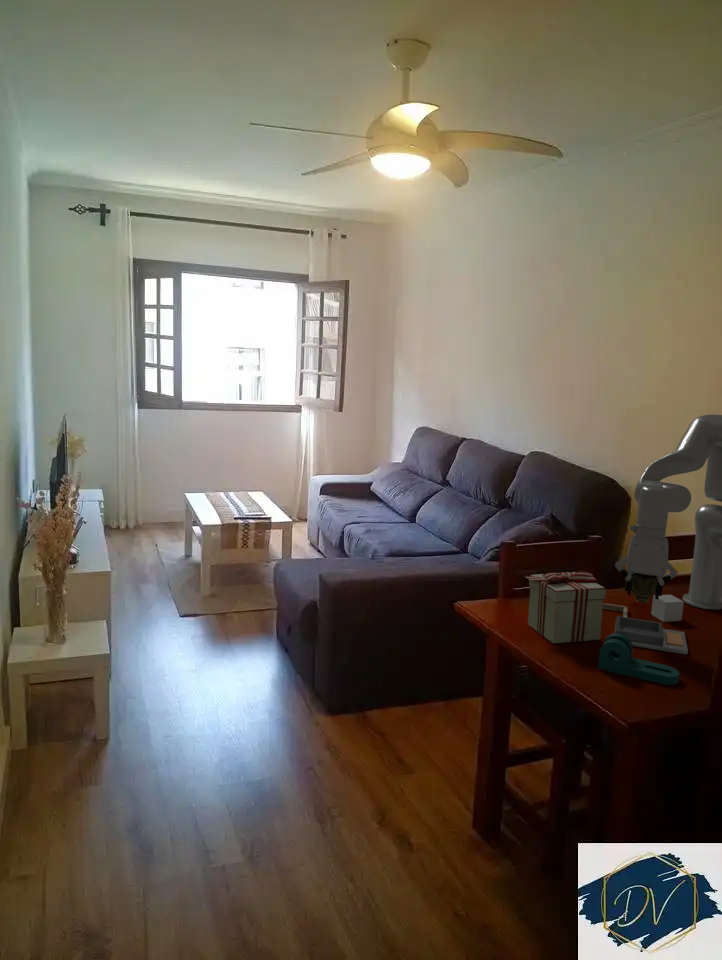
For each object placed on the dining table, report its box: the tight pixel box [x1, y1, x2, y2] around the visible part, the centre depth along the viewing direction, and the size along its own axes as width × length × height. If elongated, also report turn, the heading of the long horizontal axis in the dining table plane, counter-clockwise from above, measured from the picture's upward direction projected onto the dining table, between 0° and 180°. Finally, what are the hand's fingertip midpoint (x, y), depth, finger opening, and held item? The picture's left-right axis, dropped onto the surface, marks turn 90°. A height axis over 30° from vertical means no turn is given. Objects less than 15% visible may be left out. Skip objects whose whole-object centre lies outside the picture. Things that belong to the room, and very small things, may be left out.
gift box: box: [524, 570, 607, 645], centre depth 198 cm, size 17×18×17 cm
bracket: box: [597, 632, 680, 686], centre depth 175 cm, size 18×7×8 cm, turn 61°
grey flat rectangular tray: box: [614, 615, 689, 655], centre depth 196 cm, size 14×18×3 cm
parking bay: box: [602, 602, 628, 618], centre depth 213 cm, size 12×12×2 cm
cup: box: [631, 573, 659, 604], centre depth 195 cm, size 8×7×8 cm
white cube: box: [650, 594, 685, 623], centre depth 213 cm, size 6×6×6 cm
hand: (642, 595), depth 195 cm, fingers closed on cup, 6 cm apart
